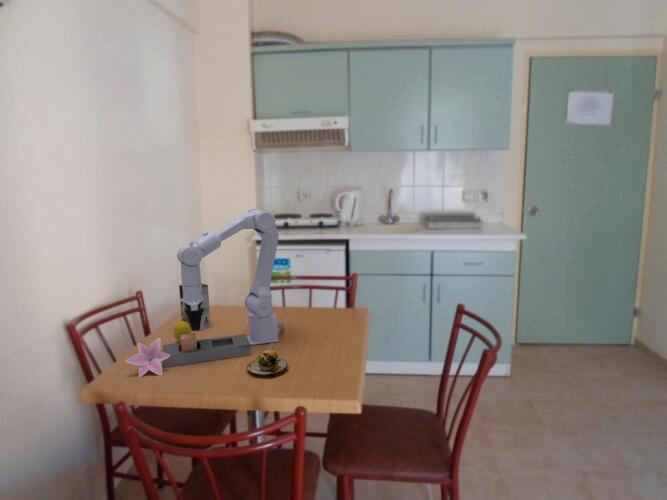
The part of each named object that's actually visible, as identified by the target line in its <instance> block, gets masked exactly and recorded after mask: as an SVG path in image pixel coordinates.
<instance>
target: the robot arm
mask: <svg viewBox="0 0 667 500" xmlns="http://www.w3.org/2000/svg"><path fill="white" fill-rule="evenodd" d="M276 222H277V219H276V218H275V217H274V215H273V214H272V213H271V212H270V211H267V210H261V209H257V208H251V209H248V211H245V212H243V213H242V214H241V215H239V216H238V217H236V218H235V219H233V220H231V221H230V222H229V223H228V224H226V225H224V226H223V227H222V228H221V229H219V230H217V231H216V232H214V231H208V232H207V231H204V232H203V233H202V236H200V237H198V238H197V239H196V240H191V241H189V244H185V245H182V246H181V247H180V248H179V250H178V251H177V254H176V258H177V260H178V261H179V263H180V276H181V285H182V288H183V298H182V299H180V298H179V303H180V302H184V304H185V306H186V308H187V309H185V313H186V315H187V316H188V318H189V321H190V324H191V328H192V329H191V330H192V332H196V331H197V332H199V331H198V330H200V324H201V317H202V314H203V311H204V308H200V307H201V304H202V301H203V296H202V284H203V283H202V274H201V267H200V263H201V262H202V259H203V258H206V257H207V256H208V255H210V254H211V253H213V252H215V251H216V250H218V249H219V248H221V245H222V242H224V240H227V239H229V238H230V237H232V236H233V235H236V234H237V233H238V232H240V231H242V230H254V231H255V232H256V233H257V235H258V236H259V237H260V238H261V242H260V247H259V253H258V259H257V263H256V269H255V274H254V278H253V279H254V280H253V285H251V287H250V288H249V291H248V294H247V295H246V297H245V300H244V306H245V308H246V309H247V310H248V313H247V318H248V331H249V332H248V336H247V335H246V336H247V338H248V340H249V343H250V346H253V345H262V344H267V343H268V344H269V343H270V344H271V343H275V342H276V343H277V342H279V334H278V333H279V330H278V319H277V313H275V312H272V311H273V303H272V297H273V295H272V292H271V289H270V288H271V287H270V285H271V281H272V276H273V269H274V266H275V265H274V264H275V259H276V255H277V253H276V252H277V250H278V249H277V248H278V244H279V237H280V236H279V231H278V228H277V224H276ZM271 312H272V313H271ZM200 331H201V330H200Z"/></svg>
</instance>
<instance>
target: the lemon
mask: <svg viewBox="0 0 667 500" xmlns="http://www.w3.org/2000/svg"><path fill="white" fill-rule="evenodd" d="M191 330H192V329H190V326H189V324H188V323H187V322H185V321H182V319H181V320H180V321H178V322H176V323H175V324H174V327H173V337H174V339H175V340H176V341H177V342H178V343H181V335H184V334H192V333H191V332H192V331H191Z"/></svg>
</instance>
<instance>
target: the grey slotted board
mask: <svg viewBox="0 0 667 500" xmlns="http://www.w3.org/2000/svg"><path fill="white" fill-rule="evenodd" d="M196 344H197V350H190V351H182V345H181V342H175V343H167V344H162V351H161V352H163V353H167V354H169V355H171V356H170V357H168V358H167V359H165V360H163V361H162V368H168V367H169V368H170V367H176V366H182V365H183V366H185V365H191V364H198V363H205V362H211V361H218V360H226V359H232V358H233V359H234V358H239V357H240V358H241V357H246V356H247V357H248V356H251V355H252V353H251V345H250V343H249V340H248V338H247V334H246V333H244V334H237V335H227V336H222V337H220V336H219V337H213V338H207V339H198V340H197V339H196Z"/></svg>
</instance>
